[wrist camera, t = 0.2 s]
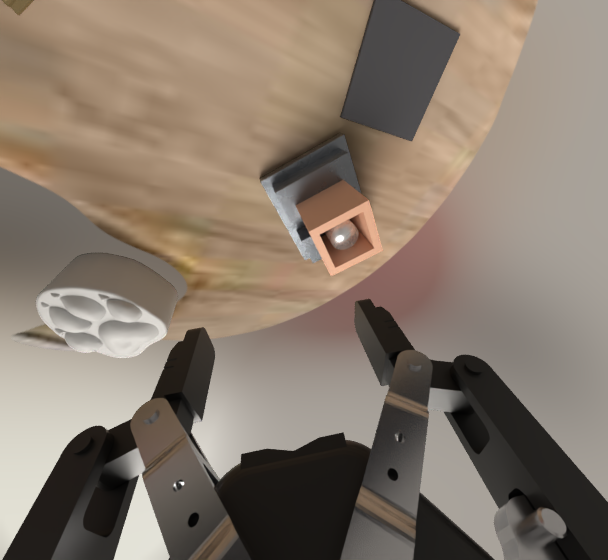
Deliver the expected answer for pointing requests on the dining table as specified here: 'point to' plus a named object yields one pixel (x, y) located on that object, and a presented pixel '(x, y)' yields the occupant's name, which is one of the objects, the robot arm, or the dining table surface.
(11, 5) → the eiffel tower
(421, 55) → the mat
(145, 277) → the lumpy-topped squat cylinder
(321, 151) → the vise
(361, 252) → the collar
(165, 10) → the dining table surface
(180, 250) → the dining table surface
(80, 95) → the dining table surface
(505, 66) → the dining table surface
